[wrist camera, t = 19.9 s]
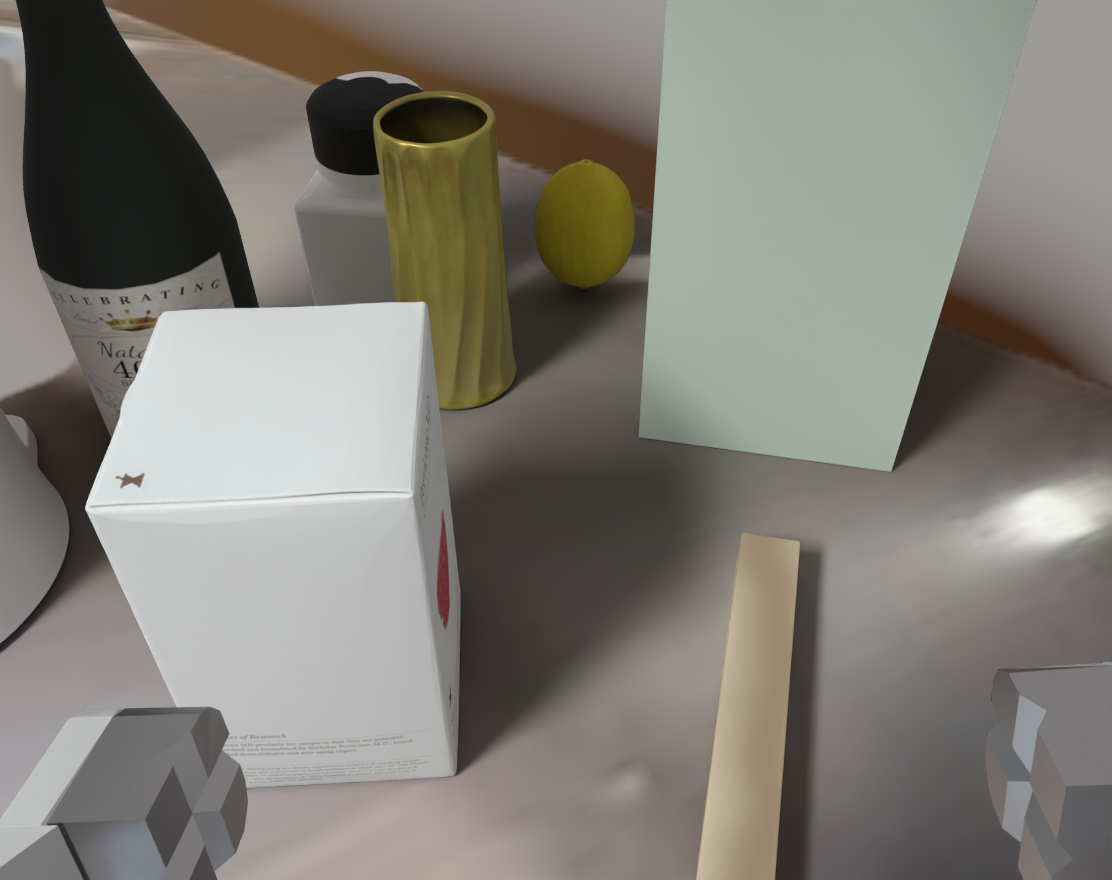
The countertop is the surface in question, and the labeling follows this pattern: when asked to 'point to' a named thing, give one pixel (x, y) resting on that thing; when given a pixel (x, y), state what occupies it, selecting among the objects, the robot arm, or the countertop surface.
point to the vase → (449, 237)
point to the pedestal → (813, 214)
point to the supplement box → (293, 536)
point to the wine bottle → (117, 197)
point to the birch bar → (751, 716)
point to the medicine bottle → (348, 191)
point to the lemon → (584, 224)
